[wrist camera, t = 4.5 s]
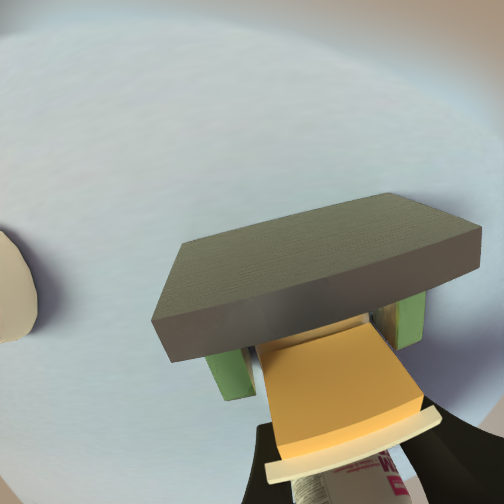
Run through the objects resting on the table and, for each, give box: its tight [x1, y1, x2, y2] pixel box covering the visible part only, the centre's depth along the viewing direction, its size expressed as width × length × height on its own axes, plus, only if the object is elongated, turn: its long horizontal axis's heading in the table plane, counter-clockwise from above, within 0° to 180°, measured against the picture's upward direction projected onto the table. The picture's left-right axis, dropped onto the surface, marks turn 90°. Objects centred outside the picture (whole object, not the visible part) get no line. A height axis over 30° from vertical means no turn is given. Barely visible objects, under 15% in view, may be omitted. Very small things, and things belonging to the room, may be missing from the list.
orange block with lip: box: [260, 323, 442, 484], centre depth 8 cm, size 2×5×5 cm, turn 104°
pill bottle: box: [291, 449, 412, 504], centre depth 9 cm, size 5×5×8 cm
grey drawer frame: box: [151, 193, 482, 401], centre depth 8 cm, size 8×7×4 cm
